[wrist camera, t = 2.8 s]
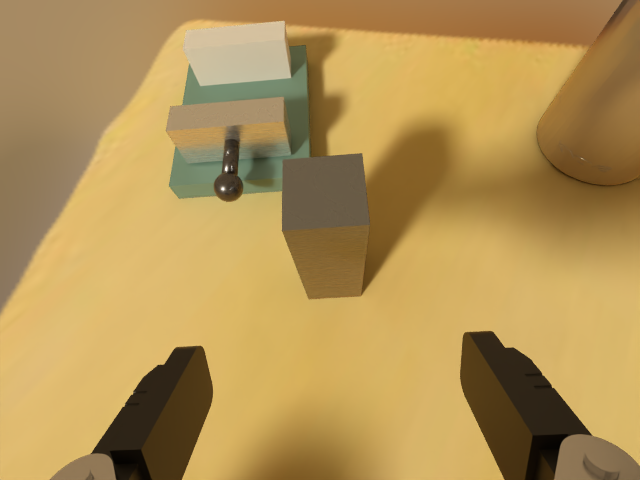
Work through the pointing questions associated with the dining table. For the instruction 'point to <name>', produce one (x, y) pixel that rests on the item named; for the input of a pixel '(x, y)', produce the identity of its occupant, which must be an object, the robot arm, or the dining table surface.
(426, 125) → the dining table surface
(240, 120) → the vise jaw
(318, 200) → the steel bar
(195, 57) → the vise
